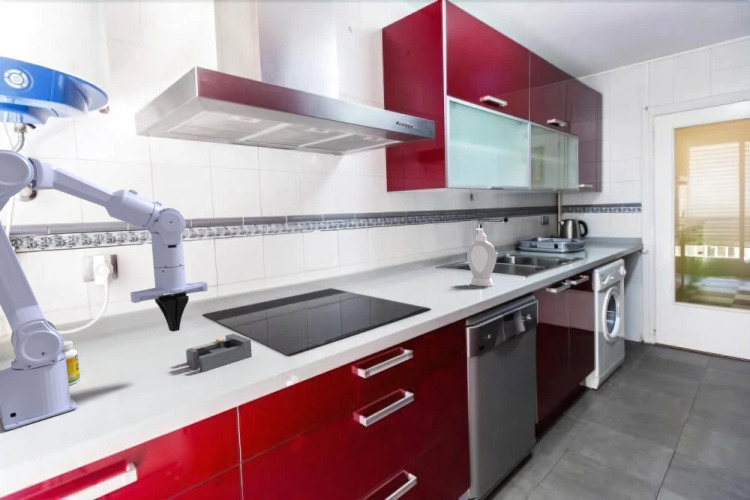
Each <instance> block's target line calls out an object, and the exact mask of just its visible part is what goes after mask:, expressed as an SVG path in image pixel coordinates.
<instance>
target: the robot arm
mask: <svg viewBox="0 0 750 500" xmlns="http://www.w3.org/2000/svg"><path fill="white" fill-rule="evenodd" d="M30 184H31V191H41V190H42V191H43V190H55V191H59V192H62V193H64V194H67V195H70V196H73V197H76V198H79V199H80V200H85V201H87V202H90V203H93V204H95V205H98V206H101V207H103V208H104V209H106V210H105V211H106V212H107V214H108V215H109V217H110V218H113V219H115V220H119V221H121V222H124V223H127V224H129V225H132V226H135V227H137V228H140V229H142V230H146V229H147V231H148V232H149V234H150V235H151V252H152V263H153V276H154V287H151V288H147V289H142V290H137V291H131V292H130V300H131V303H133V304H137V303H141V302H145V301H151V300H152V301H153V300H154V302H155V303H156V305H157V306H158V308H159V309H160V311H161V312H162V314H163V316H164V319H165V321H166V323H167V327H168V331H170V332H173V333H174V332H177V331H180V328H181V323H182V322H181V321H182V317H183V314H184V311H185V308H186V306H187V304H188V303H189V295H188V294H194V293H201V292H208V282H206V281H198V282H188V283H186V282H187V281H186V267H185V255H184V243H183V232H184V231H185V230H186V226H187V221H186V220H185V217H184V216H183V215H182V214H181V212H180V211H178V210H177V209H175V208H169V207H167V208H164V207H163V203H162V202H160V201H155V202H154V201H152V200H150V199H147V198H145V197H143V196H140V195H138V194H139V191H137V190H134V189H133V188H132V189H129V190H126V189H119V190H116V191H112V190H110V189H107V188H104V187H103V186H101V185H98V184H96V183H94V182H91V181H89V180H87V179H85V178H82V177H81V176H78V175H77V174H74V173H71V172H69V171H68V170H65V169H62V168H60V167H58V166H56V165H54V164H51V163H48V162H45V161H44V160H41V159H38V158H34V157H31V156H28V157H25V156H24V155H23V154H21V153H19V152H18V151H14V150H11V149H0V212H2V211H3V209H4V208H5V206H6V205H7V204H8V202H9V201H10V198H12V197H13V196H15V195H17V194H19V192H21V191H22V190H24V189H25V188H26V187H27V186H29V185H30ZM26 275H27V274H25V271H24V268H23V267H22V265H21V262H20V260H19V258H18V256H17V253H16V250H15V249H14V247H13V245H12V243H11V240H10V238H9V236H8V233H7V231H6V230H5V227H4V225H3V223H2V220H0V307H1V309H2V312H3V313H4V316H5V317H6V320H7V322H8V324H9V326H10V329H11V330H12V331H11V336H10V341H11V345H12V347H13V353H14V356H15V358H14V359H13V360H12V361H11V362H10V366H9V367H7V368H4V369H1V370H0V421H1V424H2V426H3V429H4V430H5V431H9V430H12V429H15V428H19V427H22V426H26V425H28V424H31V423H35V422H38V421H42V420H44V419H47V418H50V417H54V416H57V415H60V414H64V413H66V412H69V411H70V412H71V411H72V410H73V411H74V410H76V409H77V408H78V404H77V403H76V402H75V400H74V399H73V398H72V396H71V394H70V386H69V383H68V373H67V364H66V356H65V353H64V352H62V349H63V346H64V341H65V340H64V337H63V336H62V334H61V333H60V331H57V330H58V329H57V328H56V326H55V325H54V324H53V323H52V322H50V321H49V320H48V319H47V318H46V316H45V314H44V312H43V310H42V307H41V306H40V304H39V301H38V299H37V297H36V295H35V293H34V291H33V289H32V286H31V284H30V282H29V280H28V278H27V276H26Z"/></svg>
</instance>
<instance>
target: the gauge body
mask: <svg viewBox="0 0 750 500" xmlns="http://www.w3.org/2000/svg"><path fill="white" fill-rule="evenodd" d="M222 340H223V346H224V347H225V348H227V349H224V350H220V351H217V352H213V353H210V354H209V350H213V349H217V348H220V342H218V341H216V340H215V341H211V342H209V343H205V344H201V345H198V346H197V345H196V346H195V347H192V348H193V349H195V350H197V351H198V359H199V368H198V370H199V371H200V372H202V373H204V372H207V371H210V370H215V369H217V368H220V367H223V366H226V365H230V364H233V363H236V362H238V361H242V360H245V359H248V358H252V357H253V355H252V340H251V339H249V338H246V337H244V336H240V335H239V334H235V333H230V334H226V335H225V338H224V339H222ZM187 349H188V348H186V349H185V357H186V359H185V360H186V364H187V365H188V352H187Z"/></svg>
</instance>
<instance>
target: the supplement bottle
mask: <svg viewBox="0 0 750 500" xmlns="http://www.w3.org/2000/svg"><path fill="white" fill-rule="evenodd" d="M73 347H74V342H73V341H72V340H64V346H63V349H62V352H64V353H65V356H66V364H67V373H68V383H69V387H70V386H72V385H76V384H77V383H78V382H79V381H80V379H81V376H80V375H81V374H80V365H79V364H80V363H79V354H78V351H77V350H76V349H73Z"/></svg>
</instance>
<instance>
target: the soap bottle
mask: <svg viewBox="0 0 750 500" xmlns="http://www.w3.org/2000/svg"><path fill="white" fill-rule="evenodd" d="M475 231H478V233H477V235H475V241H473V242H471V243H470V245H469V246H468V248H467V252H466V253H467V254H466V259H467V263H468V266H469V269H470V271H471V274H472V278H471V281H470V285H471V286H475V287H493V286H494V283H493V280H492V278H491V276H492V273H493V271H494V270H495V265H496V263H497V252H496V249H495V246H494V245H493V244H492V243H491V242H490V241H488V240H487V238H488V236H487V234H486V233H485V232H484V231H485V228H481V227H480V228H475Z"/></svg>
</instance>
